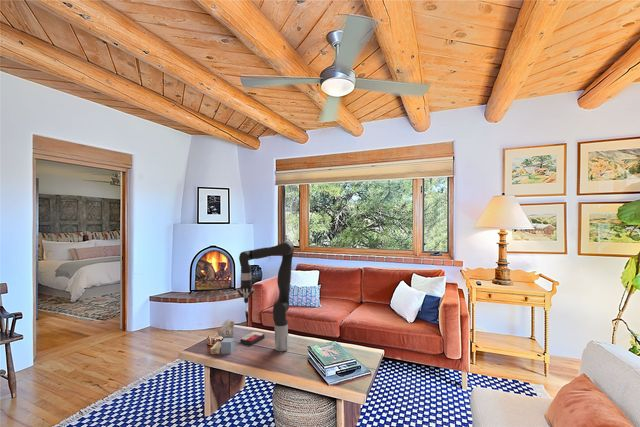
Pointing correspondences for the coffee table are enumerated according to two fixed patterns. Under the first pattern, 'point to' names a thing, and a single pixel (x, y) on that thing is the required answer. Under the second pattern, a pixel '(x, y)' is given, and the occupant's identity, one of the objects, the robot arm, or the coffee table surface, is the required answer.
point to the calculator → (252, 338)
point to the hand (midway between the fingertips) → (246, 302)
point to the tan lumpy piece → (216, 348)
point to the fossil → (227, 329)
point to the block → (227, 345)
